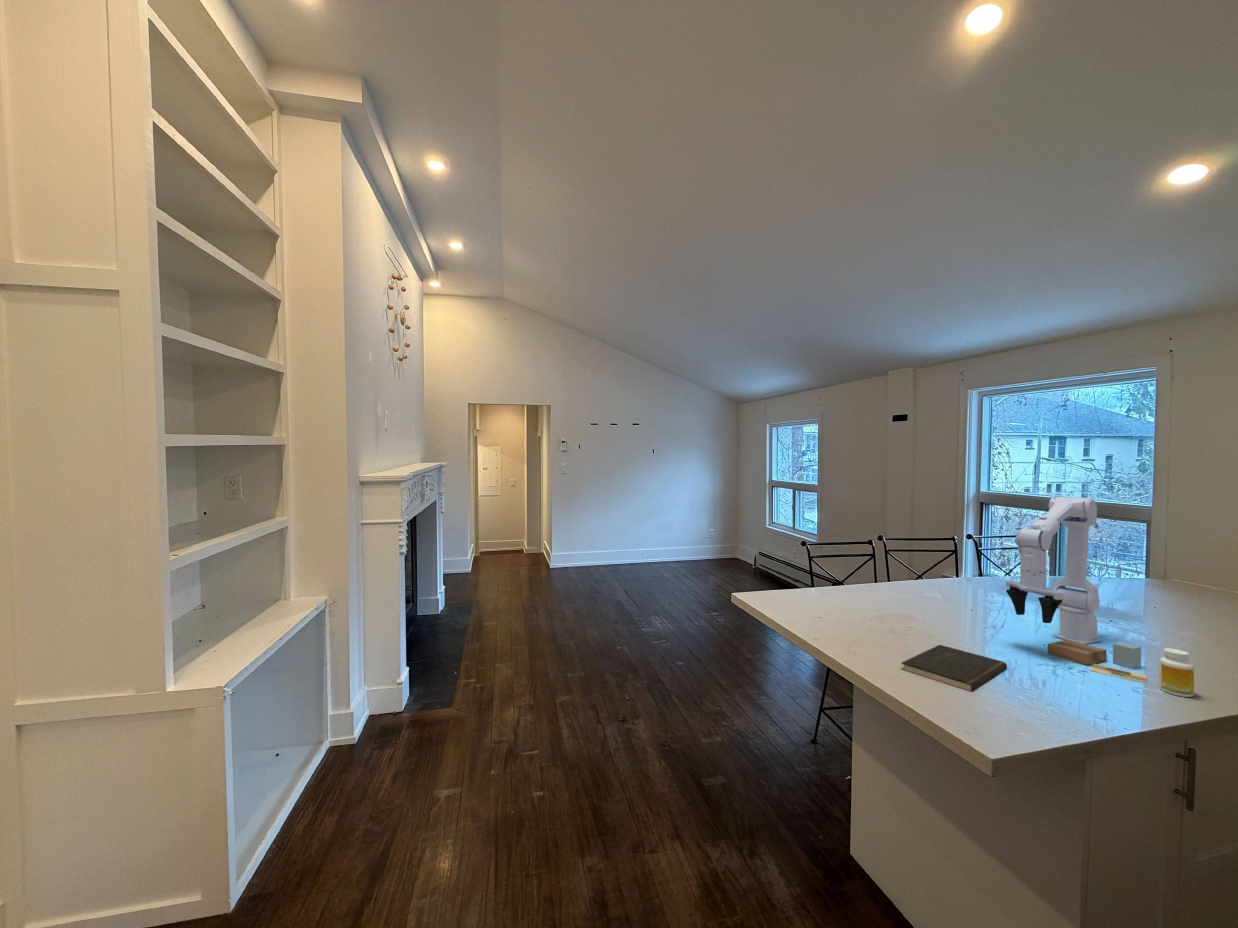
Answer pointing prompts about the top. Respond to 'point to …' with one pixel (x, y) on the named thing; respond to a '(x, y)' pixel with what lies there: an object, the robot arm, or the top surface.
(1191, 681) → the supplement bottle
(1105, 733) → the top surface
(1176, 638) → the top surface
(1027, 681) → the top surface
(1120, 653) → the gray brick
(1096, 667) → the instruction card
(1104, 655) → the walnut slab
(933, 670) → the hardcover book
